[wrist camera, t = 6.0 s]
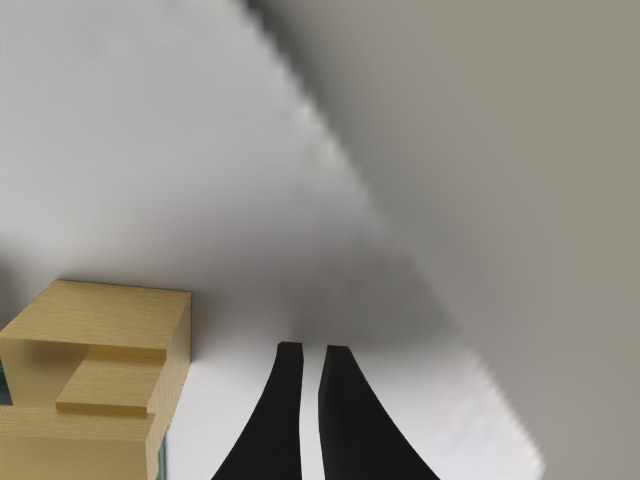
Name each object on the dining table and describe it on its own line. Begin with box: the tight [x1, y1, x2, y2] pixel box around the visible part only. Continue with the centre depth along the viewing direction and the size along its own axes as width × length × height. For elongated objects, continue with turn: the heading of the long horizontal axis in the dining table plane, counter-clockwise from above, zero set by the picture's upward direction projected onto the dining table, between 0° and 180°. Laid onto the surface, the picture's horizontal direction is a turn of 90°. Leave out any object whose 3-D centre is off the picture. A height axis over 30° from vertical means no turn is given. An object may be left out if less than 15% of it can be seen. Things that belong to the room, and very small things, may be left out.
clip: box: [0, 280, 191, 480], centre depth 10 cm, size 3×5×5 cm, turn 81°
